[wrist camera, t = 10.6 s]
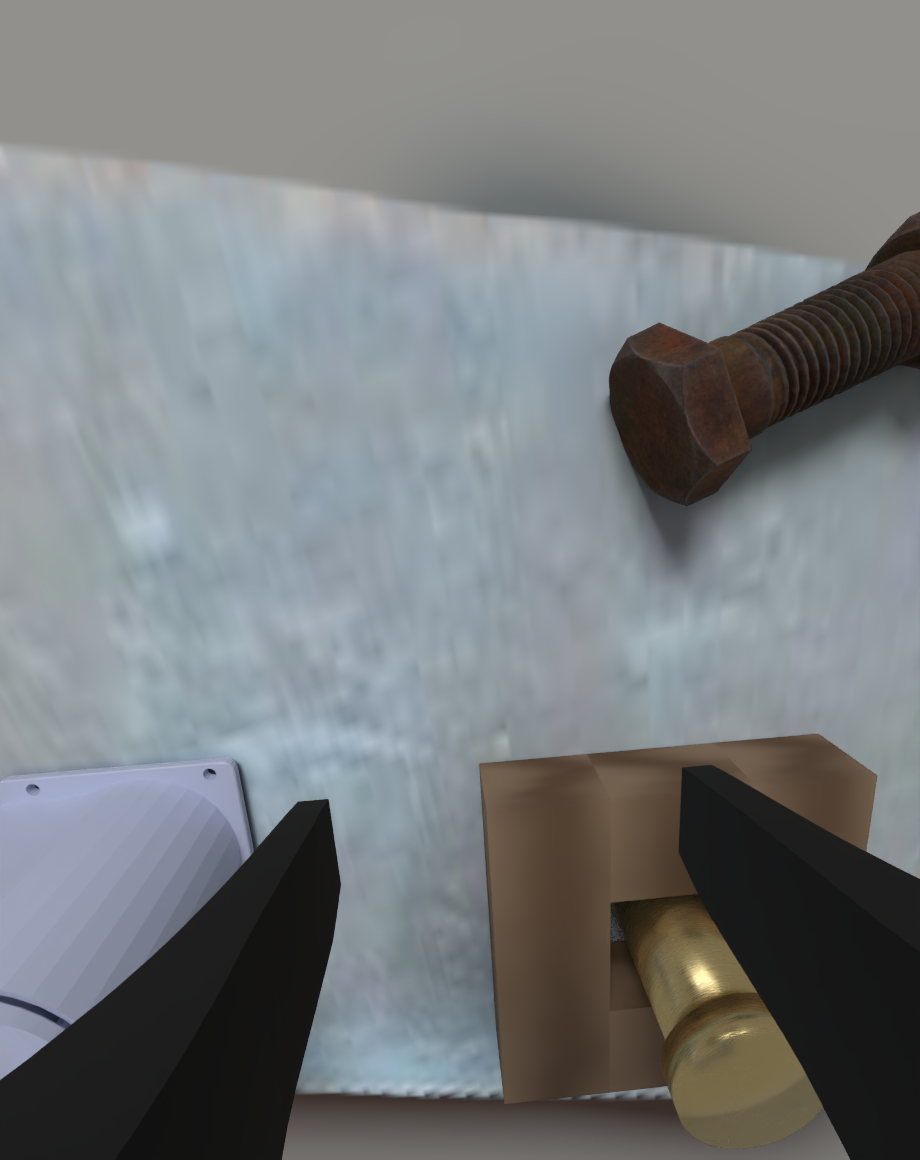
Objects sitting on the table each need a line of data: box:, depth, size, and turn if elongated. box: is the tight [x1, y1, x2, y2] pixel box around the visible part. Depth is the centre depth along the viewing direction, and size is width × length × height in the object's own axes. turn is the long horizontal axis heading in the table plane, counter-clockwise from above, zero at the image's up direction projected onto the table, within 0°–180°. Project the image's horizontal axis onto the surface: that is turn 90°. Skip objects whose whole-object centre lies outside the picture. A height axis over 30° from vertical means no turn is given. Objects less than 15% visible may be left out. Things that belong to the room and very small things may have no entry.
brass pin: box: [611, 894, 823, 1149], centre depth 19 cm, size 5×5×8 cm
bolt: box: [609, 212, 920, 506], centre depth 16 cm, size 6×5×15 cm
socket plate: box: [479, 734, 877, 1104], centre depth 22 cm, size 15×15×3 cm
